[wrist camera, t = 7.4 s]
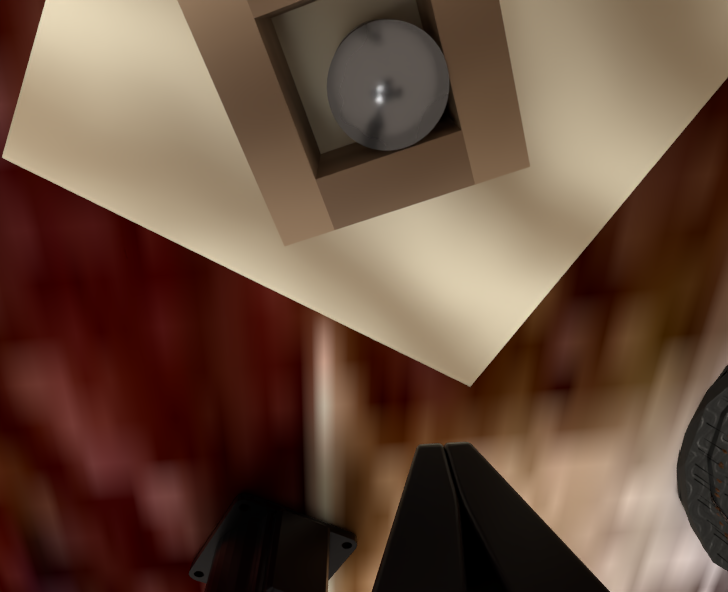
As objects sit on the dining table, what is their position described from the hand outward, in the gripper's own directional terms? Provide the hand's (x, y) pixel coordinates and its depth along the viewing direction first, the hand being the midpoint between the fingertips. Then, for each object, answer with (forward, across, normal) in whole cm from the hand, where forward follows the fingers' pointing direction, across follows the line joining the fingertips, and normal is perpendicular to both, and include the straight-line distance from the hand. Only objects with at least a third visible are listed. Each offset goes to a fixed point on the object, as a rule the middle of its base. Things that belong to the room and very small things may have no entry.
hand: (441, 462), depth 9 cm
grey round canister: (+12, 0, -5) cm, 13 cm away
